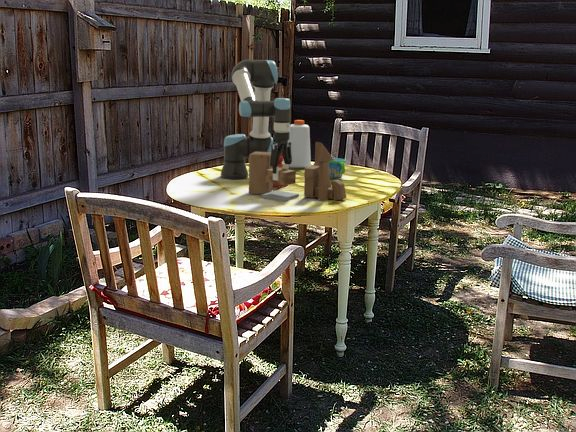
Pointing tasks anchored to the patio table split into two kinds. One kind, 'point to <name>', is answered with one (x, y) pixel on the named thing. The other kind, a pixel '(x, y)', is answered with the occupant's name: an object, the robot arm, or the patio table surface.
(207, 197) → the patio table surface
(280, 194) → the plate
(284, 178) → the walnut brick
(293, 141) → the plastic bottle
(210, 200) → the patio table surface
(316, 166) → the wooden blocks
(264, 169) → the wooden block
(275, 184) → the stacking bear
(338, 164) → the snack cup
